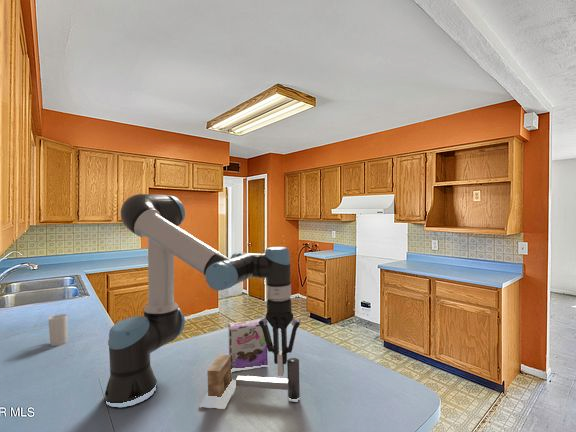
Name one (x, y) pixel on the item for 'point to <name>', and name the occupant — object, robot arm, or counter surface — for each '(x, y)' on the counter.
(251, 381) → the hook rod
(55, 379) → the counter surface
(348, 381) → the counter surface
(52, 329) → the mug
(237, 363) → the candy box
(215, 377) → the eye block
